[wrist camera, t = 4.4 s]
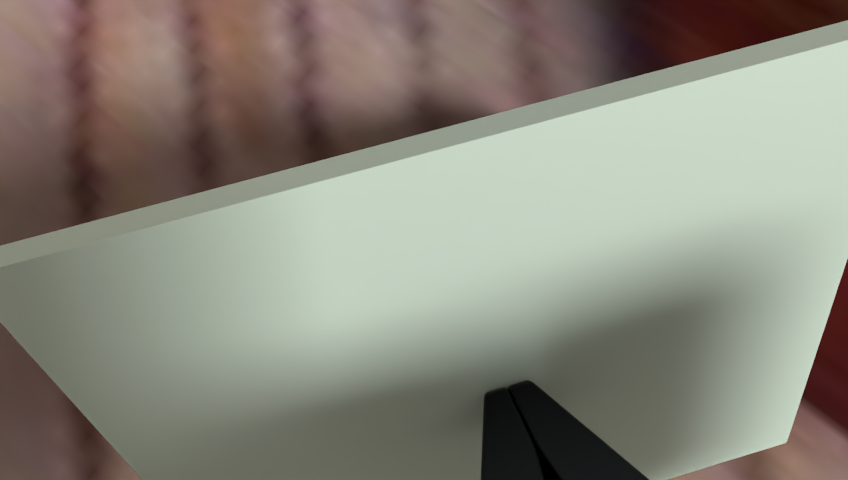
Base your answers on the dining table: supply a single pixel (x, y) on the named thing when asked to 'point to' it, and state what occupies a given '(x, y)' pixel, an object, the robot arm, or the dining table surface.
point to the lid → (471, 284)
